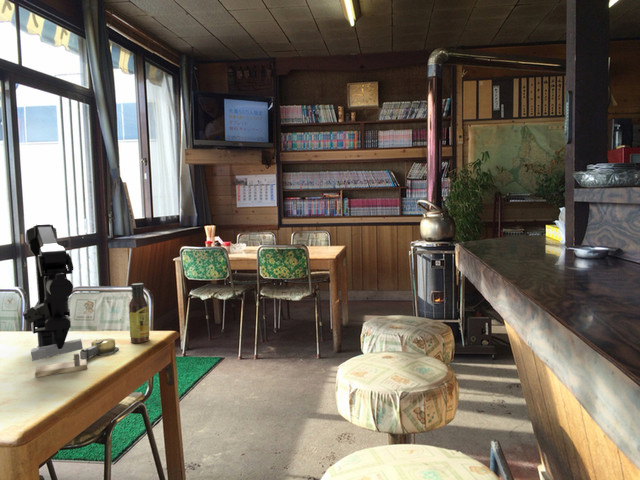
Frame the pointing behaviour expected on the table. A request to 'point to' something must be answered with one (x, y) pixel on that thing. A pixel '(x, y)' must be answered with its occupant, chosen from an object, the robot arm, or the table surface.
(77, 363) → the cradle
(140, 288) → the sauce bottle
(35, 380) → the table surface
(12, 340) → the table surface
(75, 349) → the grey bar
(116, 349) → the nut base
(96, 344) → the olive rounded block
